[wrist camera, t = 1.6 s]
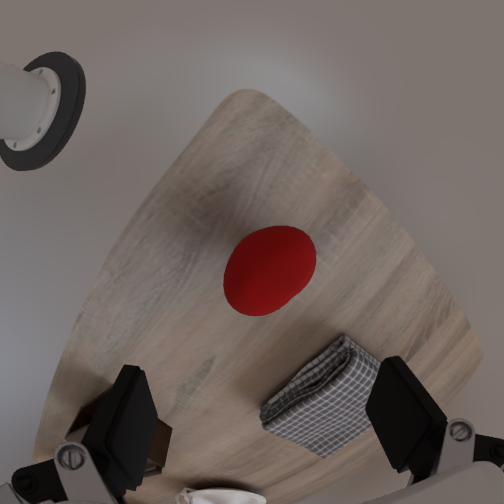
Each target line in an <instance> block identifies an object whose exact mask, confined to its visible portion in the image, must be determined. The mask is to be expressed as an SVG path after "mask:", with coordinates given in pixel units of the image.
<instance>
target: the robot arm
mask: <svg viewBox="0 0 504 504" xmlns="http://www.w3.org/2000/svg"><path fill="white" fill-rule="evenodd" d="M60 96H61V83H60V79H59V77H58V75H57V73H56V72H55V71H53V70H51V69H50V68H46V67H40V68H37V69H34V70H33V71H31V72H27V71H24V70H22V69H19V68H16V67H15V65H14V64H9V65H8V64H5V63H3V62H0V139H4V140H5V143H6V144H7V146H8V147H9V148H10V149H12V150H15V151H25V150H28V149H30V148H32V147H33V146H34V145H36V144H37V143H38V142H39V141H40V140H41V139H42V138H43V136H44V135H45V134H46V132H47V131H48V129H49V127H50V126H51V124H52V122H53V120H54V118H55V115H56V112H57V109H58V106H59V102H60ZM365 411H366V414H367V416H368V418H369V420H370V422H371V424H372V426H373V428H374V430H375V432H376V434H377V436H378V438H379V441H380V443H381V445H382V447H383V449H384V451H385V453H386V455H387V457H388V459H389V462H390V464H391V466H392V468H393V469H396V470H397V472H398V473H402V472H404V471H407V470H409V469H410V471H411V476H410V479H409V482H408V484H407V487H406V488H404V489H401V490H398V491H396V492H393V493H390V494H388V495H385V496H382V497H379V498H376V499H373V500H370V501H366V502H363V503H360V504H504V440H503V439H500V438H494V437H489V436H484V435H479V434H475V429H474V426H473V425H472V424H471V422H469V421H468V420H465V419H463V418H457V419H453V420H451V421H450V422H449V423H448V422H447V417H446V416H445V414H444V413H443V412H442V410H441V409H440V408H439V406H438V405H437V404H436V402H435V401H434V400H433V398H432V397H431V396H430V394H429V393H428V392H427V390H426V389H425V388H424V387H423V385H422V384H421V383H420V381H419V380H418V379H417V378H416V376H415V375H414V374H413V372H412V371H411V370H410V369H409V367H408V366H407V365H406V364H405V362H404V361H403V360H402V359H401V357H399V356H393V357H388V358H385V359H384V361H383V362H382V363H381V364H380V367H379V370H378V373H377V376H376V379H375V382H374V384H373V387H372V390H371V393H370V395H369V398H368V400H367V403H366V406H365ZM157 422H158V415H157V411H156V408H155V405H154V402H153V399H152V396H151V392H150V389H149V386H148V382H147V379H146V375H145V372H144V370H141V369H140V367H139V366H133V365H124V366H123V368H122V369H121V371H120V373H119V375H118V377H117V379H116V381H115V383H114V385H113V387H112V388H111V390H110V392H109V393H107V394H105V395H104V397H103V398H102V400H101V402H100V404H99V406H98V408H97V410H96V412H95V414H94V416H93V418H92V420H91V422H90V424H89V426H88V428H87V430H86V432H85V434H84V436H83V439H82V441H81V443H78V442H74V441H69V442H64V443H62V444H60V445H59V446H58V447H57V448H56V450H55V451H54V459H51V460H48V461H45V462H41V463H38V464H35V465H31V466H27V467H24V468H20V469H18V470H16V471H15V472H14V474H13V476H12V483H11V484H9V483H5V484H3V485H2V486H0V504H129V503H128V502H127V500H126V498H125V497H124V495H125V493H126V489H128V490H132V491H136V487H137V486H140V485H141V484H142V480H143V476H144V472H145V467H146V463H147V460H148V456H149V452H150V448H151V444H152V440H153V436H154V433H155V429H156V425H157Z"/></svg>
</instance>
